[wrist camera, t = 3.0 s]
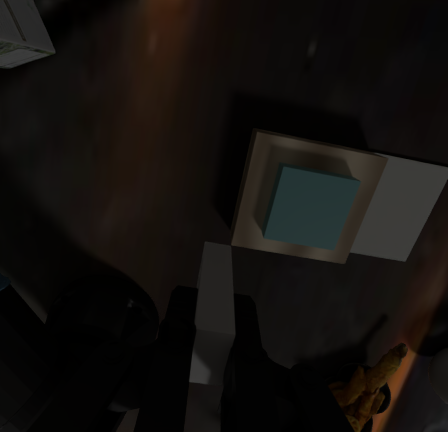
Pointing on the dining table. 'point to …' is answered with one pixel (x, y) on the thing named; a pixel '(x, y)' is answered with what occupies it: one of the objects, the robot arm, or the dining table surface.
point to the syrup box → (22, 34)
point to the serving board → (306, 157)
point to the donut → (439, 374)
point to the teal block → (308, 206)
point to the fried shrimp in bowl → (365, 388)
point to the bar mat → (399, 208)
